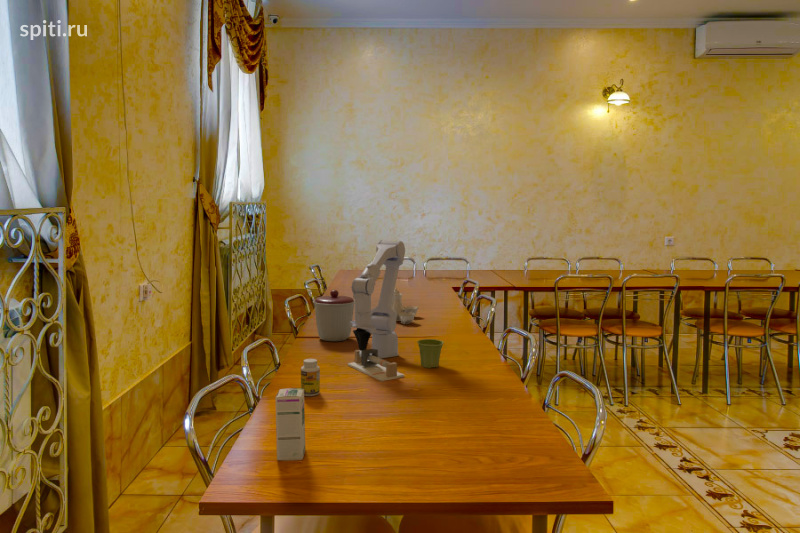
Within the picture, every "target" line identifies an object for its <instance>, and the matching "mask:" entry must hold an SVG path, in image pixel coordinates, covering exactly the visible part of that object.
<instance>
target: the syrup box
mask: <svg viewBox="0 0 800 533" xmlns="http://www.w3.org/2000/svg"><path fill="white" fill-rule="evenodd" d="M305 414H306V413H305V396H304V389H301V387H300V388H299V387H298V388H297V387H290V388H289V387H288V388H280V389H278V392H277V393H276V395H275V426H276V428H275V432H276V435H275V436H276V437H275V438H276V460H277V461H303V458H304V455H305V452H306V421H305V420H306V417H305Z"/></svg>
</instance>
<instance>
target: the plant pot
mask: <svg viewBox="0 0 800 533" xmlns="http://www.w3.org/2000/svg"><path fill="white" fill-rule="evenodd" d="M417 344H418V348H419V355H420V358H419V359H420V365H421V367H423V368H426V369H431V368H434V369H435V367H436V368H438V367H439V364H440V358H441V352H442V348H443V345H444V344H445V343H444V341H443V340H440V339H434V338H433V339H432V338H425V339H424V338H423V339H418V340H417Z"/></svg>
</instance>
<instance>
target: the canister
mask: <svg viewBox="0 0 800 533" xmlns="http://www.w3.org/2000/svg"><path fill="white" fill-rule="evenodd" d="M312 303H313V304H314V314H315V321H316V322H315V323H316V328H317V335H318V337H319V338H320V339H321V340H322V341H326V342H342V341H346V340H348V339H349V337H350V336H351V332H352V327H351V326H350V321H353V318H354V311H355V299H354V298H353V297H350V296H346V295H339V291H338V290H337V289H333V290H330V295H324V296H319V297H316V298H315V299H314V300H312Z"/></svg>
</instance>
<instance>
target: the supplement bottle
mask: <svg viewBox="0 0 800 533" xmlns="http://www.w3.org/2000/svg"><path fill="white" fill-rule="evenodd" d="M320 371H321V369H320V366H319V365H318V360H317V359H316V358H306V359H303V365H302V366H301V367H300V388H301V389H304V397H305V396H306V397H315V396H318V395H319V394H320V391H321V390H320V388H321V387H320V381H321V374H320V373H321V372H320Z"/></svg>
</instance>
